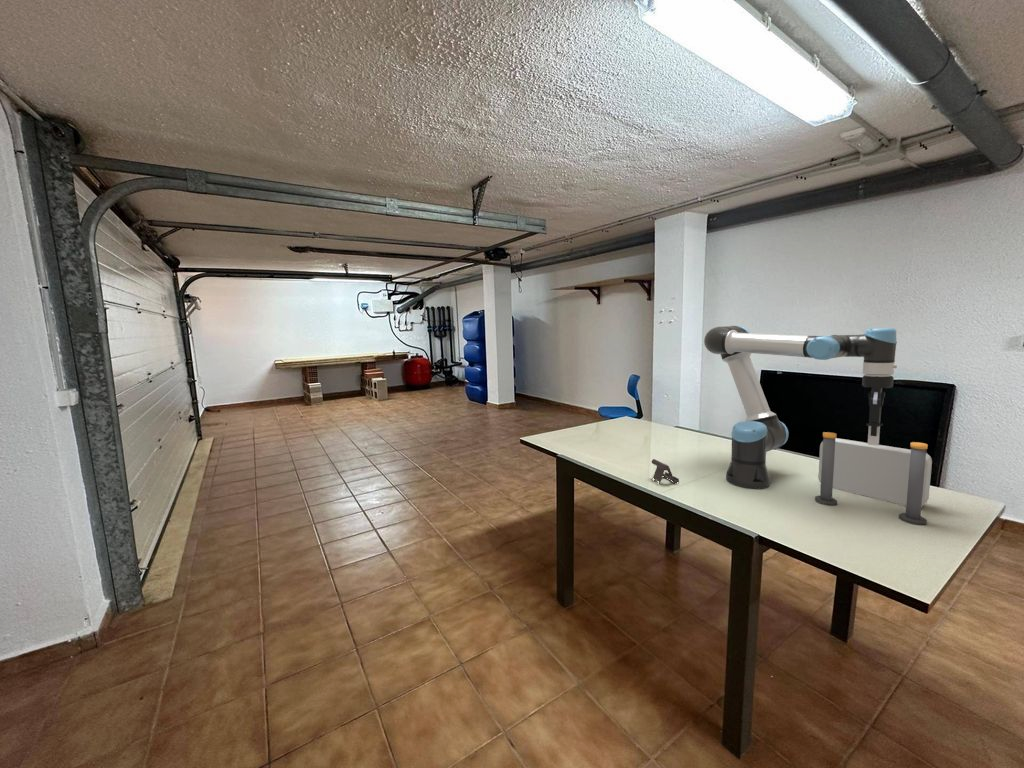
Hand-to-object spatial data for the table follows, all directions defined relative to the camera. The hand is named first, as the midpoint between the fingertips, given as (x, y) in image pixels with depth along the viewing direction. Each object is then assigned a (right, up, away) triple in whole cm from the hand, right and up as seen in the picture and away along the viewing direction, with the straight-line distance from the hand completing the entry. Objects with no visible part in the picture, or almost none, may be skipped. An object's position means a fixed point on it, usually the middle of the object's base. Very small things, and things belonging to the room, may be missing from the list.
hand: (873, 444), depth 132 cm
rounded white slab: (+6, -19, +8) cm, 21 cm away
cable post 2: (+1, -21, -12) cm, 24 cm away
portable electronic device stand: (-60, -20, +28) cm, 69 cm away
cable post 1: (-13, -20, +3) cm, 25 cm away
